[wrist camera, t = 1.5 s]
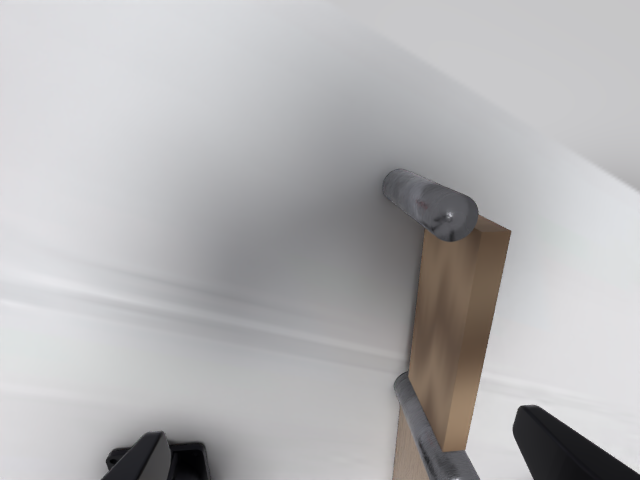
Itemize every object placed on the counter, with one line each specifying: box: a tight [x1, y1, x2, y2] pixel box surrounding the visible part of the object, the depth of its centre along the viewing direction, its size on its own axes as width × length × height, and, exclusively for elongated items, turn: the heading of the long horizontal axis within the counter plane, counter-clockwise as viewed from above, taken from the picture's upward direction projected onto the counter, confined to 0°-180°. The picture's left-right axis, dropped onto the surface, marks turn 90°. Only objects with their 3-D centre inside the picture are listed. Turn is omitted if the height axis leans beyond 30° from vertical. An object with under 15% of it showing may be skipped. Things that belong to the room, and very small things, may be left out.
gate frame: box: [383, 169, 480, 480], centre depth 19 cm, size 26×4×7 cm, turn 0°
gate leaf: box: [408, 215, 511, 452], centre depth 17 cm, size 12×1×5 cm, turn 0°
